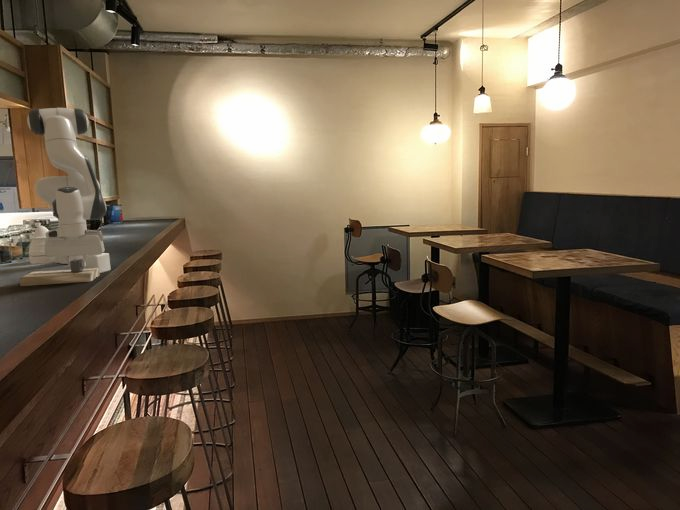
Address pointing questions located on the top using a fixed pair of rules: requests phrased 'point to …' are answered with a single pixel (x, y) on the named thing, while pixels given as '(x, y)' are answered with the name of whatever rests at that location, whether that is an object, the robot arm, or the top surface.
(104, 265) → the medicine bottle
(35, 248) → the honey pot
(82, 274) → the control strip
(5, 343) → the top surface
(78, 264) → the fader knob
